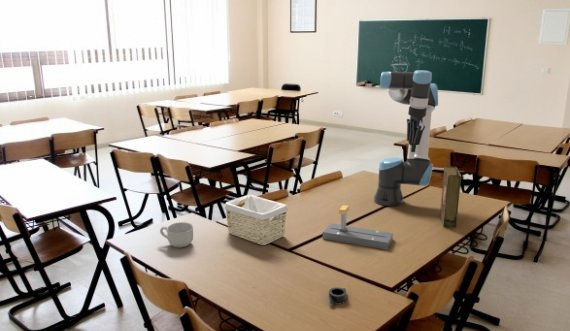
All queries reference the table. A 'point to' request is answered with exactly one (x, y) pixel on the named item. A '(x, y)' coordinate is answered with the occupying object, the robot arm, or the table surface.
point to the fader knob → (343, 217)
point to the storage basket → (256, 219)
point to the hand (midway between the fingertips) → (410, 158)
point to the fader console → (358, 236)
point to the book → (450, 196)
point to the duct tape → (337, 295)
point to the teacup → (179, 234)
